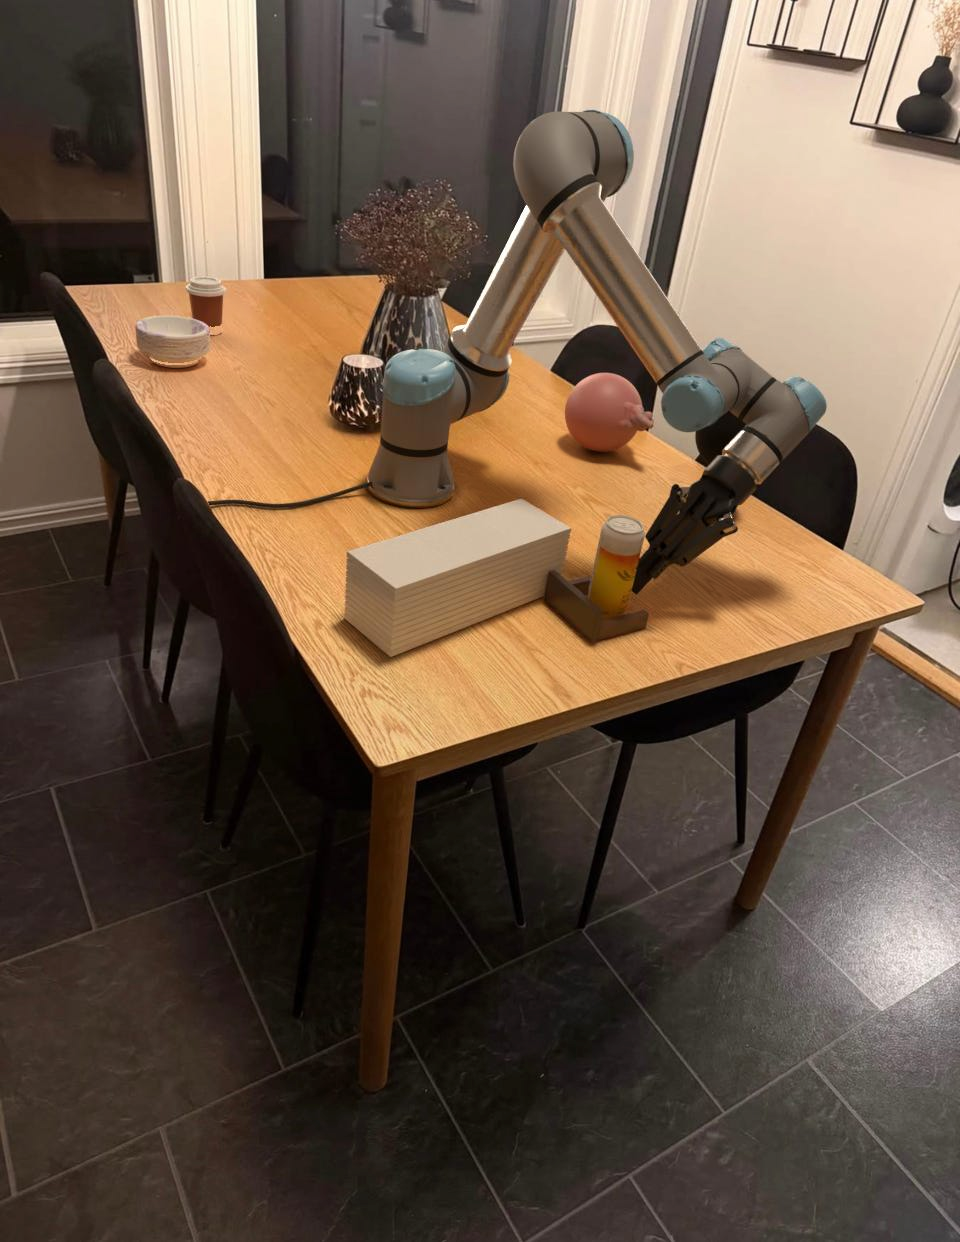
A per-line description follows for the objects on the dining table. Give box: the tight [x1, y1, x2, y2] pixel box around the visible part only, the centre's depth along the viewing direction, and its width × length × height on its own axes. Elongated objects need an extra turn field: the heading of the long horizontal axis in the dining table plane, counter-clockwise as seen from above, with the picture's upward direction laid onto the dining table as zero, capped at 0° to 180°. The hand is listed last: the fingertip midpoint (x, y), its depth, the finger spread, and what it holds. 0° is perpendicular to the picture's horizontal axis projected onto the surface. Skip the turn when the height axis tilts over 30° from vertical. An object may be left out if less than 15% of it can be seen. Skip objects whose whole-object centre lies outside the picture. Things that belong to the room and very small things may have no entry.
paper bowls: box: [135, 315, 211, 369], centre depth 200 cm, size 15×15×8 cm
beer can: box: [586, 514, 646, 620], centre depth 132 cm, size 6×6×15 cm
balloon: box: [564, 372, 655, 453], centre depth 183 cm, size 15×20×15 cm
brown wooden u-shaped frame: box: [543, 570, 650, 643], centre depth 135 cm, size 10×12×5 cm
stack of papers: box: [343, 498, 572, 658], centre depth 131 cm, size 32×11×11 cm, turn 131°
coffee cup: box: [185, 275, 227, 327], centre depth 217 cm, size 9×9×12 cm
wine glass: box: [682, 411, 746, 522], centre depth 165 cm, size 10×10×20 cm
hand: (629, 588), depth 137 cm, fingers closed
